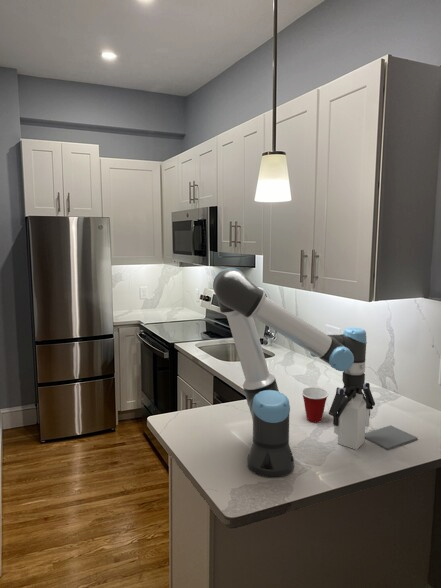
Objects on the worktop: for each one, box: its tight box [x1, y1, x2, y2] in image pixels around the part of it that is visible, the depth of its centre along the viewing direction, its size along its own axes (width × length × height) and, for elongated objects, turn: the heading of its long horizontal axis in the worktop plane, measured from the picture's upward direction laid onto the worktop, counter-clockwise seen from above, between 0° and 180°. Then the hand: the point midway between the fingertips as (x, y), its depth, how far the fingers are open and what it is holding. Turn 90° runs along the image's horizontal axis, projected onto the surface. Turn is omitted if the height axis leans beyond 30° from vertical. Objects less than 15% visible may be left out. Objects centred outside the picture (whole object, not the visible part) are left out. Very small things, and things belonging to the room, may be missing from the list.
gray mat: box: [365, 424, 419, 451], centre depth 164 cm, size 16×12×1 cm
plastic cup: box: [300, 386, 330, 424], centre depth 179 cm, size 11×11×12 cm
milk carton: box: [337, 393, 366, 450], centre depth 159 cm, size 7×7×19 cm
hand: (351, 429), depth 160 cm, fingers open, 13 cm apart
